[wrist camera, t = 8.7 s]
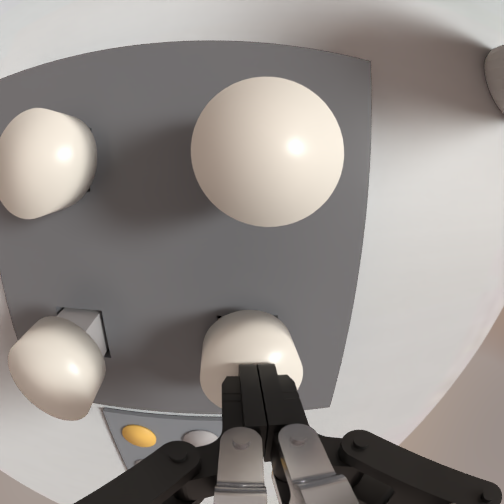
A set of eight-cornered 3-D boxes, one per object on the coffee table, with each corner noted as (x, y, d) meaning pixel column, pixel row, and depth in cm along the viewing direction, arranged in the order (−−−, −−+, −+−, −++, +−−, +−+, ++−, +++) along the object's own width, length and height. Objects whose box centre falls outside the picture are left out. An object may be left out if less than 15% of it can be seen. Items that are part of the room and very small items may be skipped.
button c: (202, 203, 14) (189, 225, 8) (206, 108, 12) (195, 73, 7) (297, 206, 14) (338, 229, 9) (301, 114, 13) (345, 87, 8)
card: (131, 473, 21) (130, 477, 21) (104, 407, 19) (102, 412, 18) (233, 480, 22) (233, 484, 22) (233, 416, 20) (233, 422, 19)
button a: (53, 203, 14) (-5, 221, 9) (53, 127, 13) (-5, 118, 8) (119, 200, 15) (73, 217, 10) (121, 118, 13) (75, 98, 8)
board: (50, 370, 17) (37, 390, 15) (21, 86, 12) (-2, 79, 10) (319, 383, 19) (329, 407, 17) (351, 73, 14) (370, 61, 12)
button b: (64, 353, 15) (27, 409, 10) (48, 289, 14) (-4, 335, 9) (127, 362, 16) (101, 428, 10) (116, 293, 14) (74, 350, 9)
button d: (206, 351, 18) (202, 414, 12) (204, 284, 16) (197, 337, 11) (278, 350, 18) (296, 411, 13) (284, 285, 17) (309, 335, 12)
